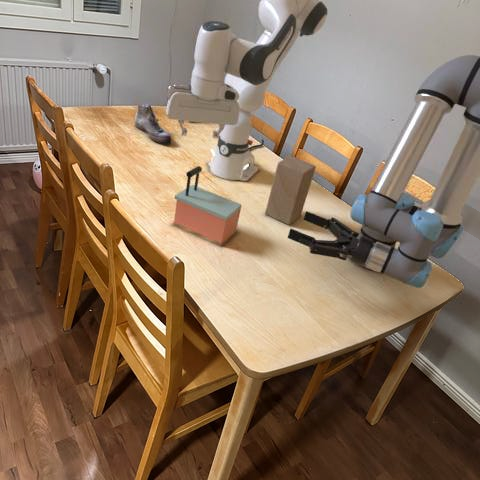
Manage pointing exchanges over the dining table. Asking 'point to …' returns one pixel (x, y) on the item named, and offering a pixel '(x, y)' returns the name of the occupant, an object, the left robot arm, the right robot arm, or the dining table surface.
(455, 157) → the right robot arm
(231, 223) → the chest
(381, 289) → the dining table surface
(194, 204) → the lid
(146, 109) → the shoe
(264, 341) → the dining table surface
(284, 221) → the wooden block
